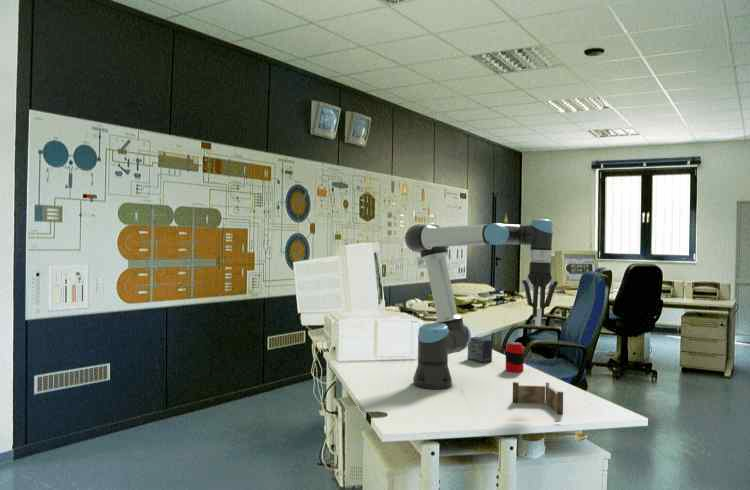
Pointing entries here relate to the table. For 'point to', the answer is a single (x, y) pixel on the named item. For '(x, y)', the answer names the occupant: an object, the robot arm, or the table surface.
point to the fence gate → (554, 399)
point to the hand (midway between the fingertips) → (537, 325)
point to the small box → (480, 350)
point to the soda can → (514, 357)
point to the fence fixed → (528, 393)
